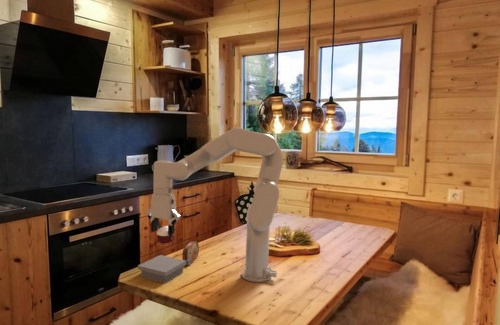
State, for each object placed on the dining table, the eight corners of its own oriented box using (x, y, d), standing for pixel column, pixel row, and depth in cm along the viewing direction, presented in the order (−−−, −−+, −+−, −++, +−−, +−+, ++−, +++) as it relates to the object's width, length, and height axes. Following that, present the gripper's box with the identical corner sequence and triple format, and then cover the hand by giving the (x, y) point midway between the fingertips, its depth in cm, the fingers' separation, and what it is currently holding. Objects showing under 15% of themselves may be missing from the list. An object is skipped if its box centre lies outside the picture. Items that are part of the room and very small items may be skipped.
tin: (187, 268, 159) (187, 249, 158) (180, 267, 160) (181, 248, 159) (199, 256, 174) (199, 239, 173) (193, 255, 175) (193, 238, 174)
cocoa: (176, 244, 149) (178, 215, 148) (163, 246, 144) (165, 217, 143) (163, 237, 156) (165, 210, 154) (150, 240, 151) (152, 212, 150)
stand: (186, 272, 155) (186, 260, 154) (165, 284, 142) (165, 272, 142) (160, 265, 161) (160, 254, 160) (137, 277, 148) (137, 265, 148)
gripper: (186, 191, 147) (185, 233, 149) (152, 187, 155) (152, 227, 157) (174, 194, 141) (174, 238, 143) (140, 190, 148) (139, 231, 150)
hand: (162, 232), depth 150 cm, fingers closed on cocoa, 8 cm apart
